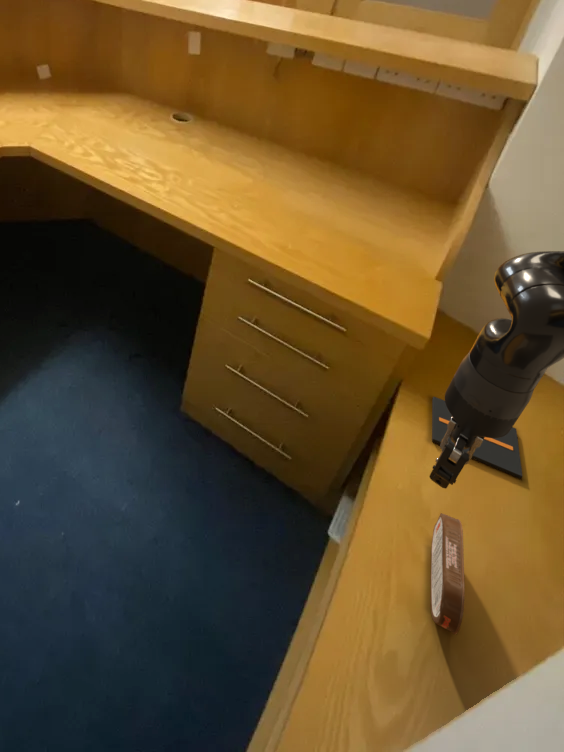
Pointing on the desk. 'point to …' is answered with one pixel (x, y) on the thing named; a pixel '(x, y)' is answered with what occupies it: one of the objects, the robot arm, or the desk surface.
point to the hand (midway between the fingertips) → (447, 460)
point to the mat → (491, 451)
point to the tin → (447, 573)
